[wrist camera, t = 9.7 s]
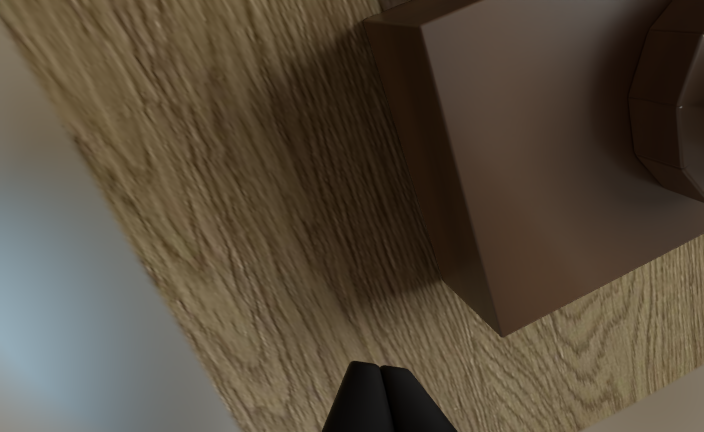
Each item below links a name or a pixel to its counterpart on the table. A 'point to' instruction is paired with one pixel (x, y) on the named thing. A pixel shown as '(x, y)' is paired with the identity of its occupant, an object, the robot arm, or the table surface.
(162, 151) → the table surface
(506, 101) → the switch block
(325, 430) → the robot arm
